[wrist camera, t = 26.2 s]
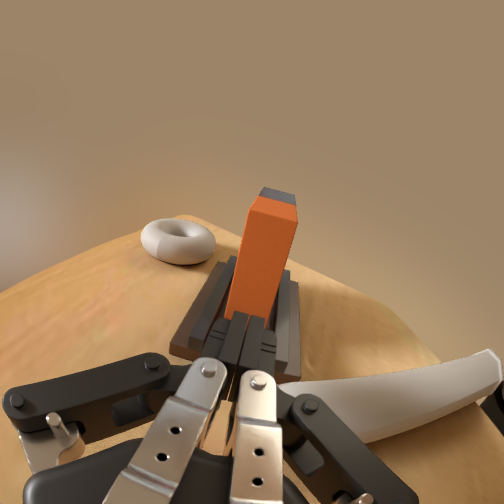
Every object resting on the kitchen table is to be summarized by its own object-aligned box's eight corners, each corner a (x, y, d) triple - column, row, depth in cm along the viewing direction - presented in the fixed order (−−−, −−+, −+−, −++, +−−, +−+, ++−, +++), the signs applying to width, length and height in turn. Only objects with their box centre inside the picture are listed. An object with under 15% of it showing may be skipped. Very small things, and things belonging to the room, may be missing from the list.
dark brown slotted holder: (295, 290, 35) (323, 203, 31) (296, 387, 20) (354, 254, 16) (216, 269, 35) (235, 179, 31) (168, 353, 20) (185, 210, 16)
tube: (279, 460, 10) (510, 380, 16) (266, 361, 14) (492, 339, 20) (249, 468, 13) (474, 405, 19) (242, 394, 17) (460, 366, 23)
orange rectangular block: (268, 300, 29) (296, 205, 25) (262, 335, 23) (298, 221, 19) (234, 291, 29) (257, 195, 25) (222, 324, 23) (248, 209, 20)
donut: (217, 246, 42) (153, 231, 41) (221, 224, 41) (156, 209, 40) (208, 277, 33) (128, 258, 32) (213, 250, 32) (130, 231, 31)
